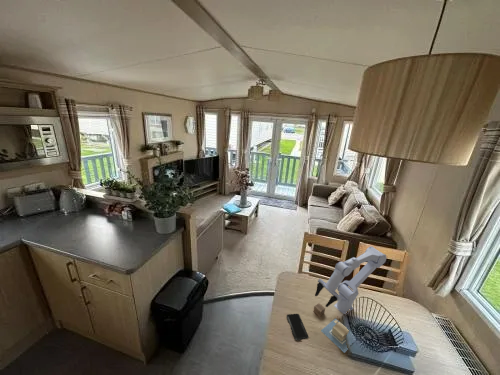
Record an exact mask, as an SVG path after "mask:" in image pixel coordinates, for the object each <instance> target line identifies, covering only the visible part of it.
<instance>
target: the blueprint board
mask: <svg viewBox="0 0 500 375" xmlns="http://www.w3.org/2000/svg"><path fill="white" fill-rule="evenodd" d="M338 322H340V323H341V324H343V323H342V322H341V321H339V320H338V319H337V318H334V319H333V320H332V321H330V322H329V323H327V324H326V325H325V326H324V327H323V328H322V329H321V330H320V331H321V333H322V334H324V336H326V337H327V338H328V339H329V340H330V341H331V342H332V343H333V344H334V345H335V346H336V347H337V348H338V349H339V350H341V351H342V352H343V353H344V354H345V353H346V352H347V351H348V350H349V349H348V348H347V345H346V340H345V339H344V340H343V341H342V342H341V341H340V340H339V339H338V338H337V337H336V336H335V335H334V334H332V329H333V327H334V326H335V325H336V324H337V323H338Z"/></svg>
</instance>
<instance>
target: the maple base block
mask: <svg viewBox="0 0 500 375" xmlns="http://www.w3.org/2000/svg"><path fill="white" fill-rule="evenodd" d="M340 322H341V321H339V322H338V323H337V324H336V325H335V326H334V327H333V329H332V334H334V335H335V336H336V337H337V338H338V339H339V340H340V341H341V342H342V341H343V340H344V339H345V338H346V335H347V334H348V333H349V330H350V329H349V328H348V327H347V326H345V325H344V324H343V323H342V322H341V323H342V324H341V323H340ZM347 328H348V329H349V330H348V329H347Z"/></svg>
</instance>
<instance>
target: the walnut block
mask: <svg viewBox="0 0 500 375" xmlns="http://www.w3.org/2000/svg"><path fill="white" fill-rule="evenodd" d="M313 312H314V313H315V314H316V315H317V316H318V317H319V318H320V317H321V316H322V315H324V314H325V312H326V307H325V306H323V304H321V303H320V302H318V303H317V304H316V305H314V306H313Z"/></svg>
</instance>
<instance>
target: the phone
mask: <svg viewBox="0 0 500 375" xmlns="http://www.w3.org/2000/svg"><path fill="white" fill-rule="evenodd" d="M286 319H287V322H288V324H289V327H290V331H291V333H292V336H293V339H294V340H295V341H297V342H298V341H302V340H308V339H309V333H308V332H307V329H306V327H305V325H304V323H303V320H302V318H301V315H300V314H299V313H290V314H286Z"/></svg>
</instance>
